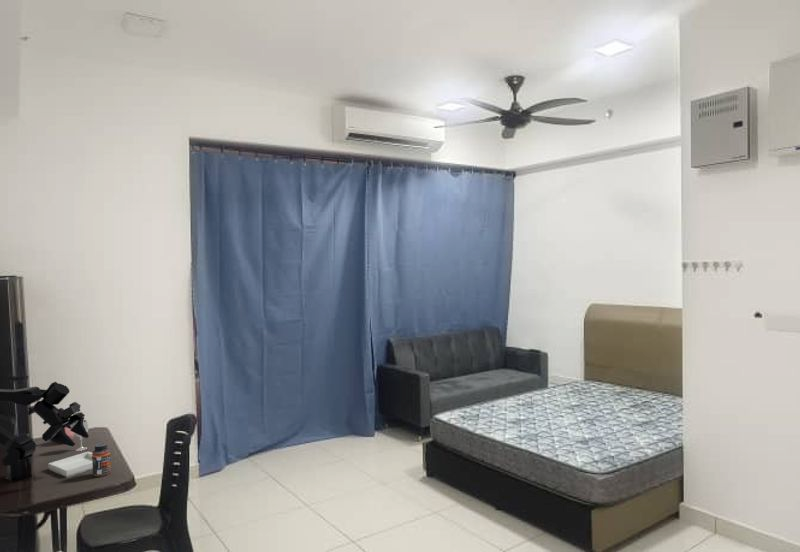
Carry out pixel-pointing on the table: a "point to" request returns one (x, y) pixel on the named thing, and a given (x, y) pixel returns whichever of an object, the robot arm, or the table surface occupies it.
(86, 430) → the wineglass
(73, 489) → the table surface
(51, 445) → the table surface
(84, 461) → the tray
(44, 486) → the table surface
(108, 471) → the supplement bottle
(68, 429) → the pink vase
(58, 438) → the robot arm
